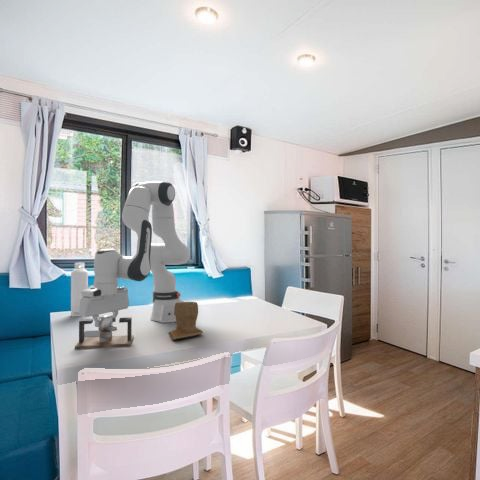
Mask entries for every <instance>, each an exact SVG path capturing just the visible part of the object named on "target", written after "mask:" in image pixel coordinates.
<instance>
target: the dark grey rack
mask: <svg viewBox="0 0 480 480" xmlns="http://www.w3.org/2000/svg"><path fill="white" fill-rule="evenodd" d="M132 318H133V317H131V316H130V317H129V316H128V317H119V320H118V323H127V329H126V330H127V334H125V335H113V331H110V330H108V331H100V335H99V337H84V332H85V325H91V324H92V323H93V322H94V319H93V318H81V319H79V321H78V342H77V344H75V345H74V350H81V349H82V348H85V349H98V348H99V349H100V348H101V349H102V348H116V347H117V348H119V347H131V345H132V343H133V340H134V334H132V329H133V328H132V322H133V321H132ZM80 348H81V349H80ZM82 350H83V349H82Z"/></svg>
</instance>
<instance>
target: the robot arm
mask: <svg viewBox="0 0 480 480" xmlns="http://www.w3.org/2000/svg"><path fill="white" fill-rule="evenodd" d="M126 197H127V198H126V200H125V201H124V206H123V209H122V212H121V214H122V215H121V219H122V222H123V225H125V226H126V227H127V228H128V229H130V230H131V231H134V232H135V233H136V236H137V243H136V253H135V255H134V256H133V255H132V256H130V255H129V256H127V255H123V254H121V253H119V252H118V251H117V249H115V248H111V247H109V248H108V247H107V248H101V249H99V250H97V251H96V252H95V255H94V259H93V273H94V279H93V284H92V285H90V286H88V288H86V289H84V290H82V292H81V295H82V296H83V297H82V298H81V300H80V308H79V313H80V315H81V316H80V317H82V318H88V317H92V319H93V322H94V327H95V326H100V325H101V321H99V316H100V315H102V314H107V313H112V314H111V315H112V316H113V323H116V321H117V317H118V314H119V311H122V310H126V309H128V308H129V306H130V301H129V300H130V299H129V289H128V288H127V287H125V286H120V287H119V286H118V283H119V281H118V279H121V280H122V279H123V280H131V281H134V282H135V281H136V282H143V281H144V280H145V279H146V278H147V277H148V276H149V275H150V273H151V274H152V277H153V278H152V279H153V292H152V303H153V304H152V310H151V315H150V317H149V318H150V320H151V321H153V322H159V323H163V324H164V323H175V322H176V316H175V312H174V307H175V303H176V302H185V301H184V300H182V299H181V298H180V297H181V293H180V292H179V291H177V289H176V287H177V286H176V279H177V278H176V276H175V275H174V273H173V272H171V271H169V270H168V269H167V268H166V265H174V266H177V265H183V264H186V263H187V262H188V261H189V259H190V255H191V252H190V249H189V247H188V246H187V245H186V244H184V243H183V242H182V241H181V239H180V238H179V236H178V234H177V231H176V224H175V222H176V221H175V211H174V204H173V203H174V200H175V198H176V190H175V186H174V185H173V184H172V183H171V182H168V181H159V180H158V181H157V180H155V181H154V180H151V181H144V182H142V181H139V182H134V183H133V184H132V185H131V187H130V190H129V192H128V194H127V196H126ZM151 205H152V206H151ZM150 212H151V222H152V223H151V222H150V220H149V218H150V217H149V216H150ZM153 234H154V235H155V236H157V237H159V238H160V239H161V240H162V241H163V243H157V242H155V243H154V242H153V243H152V237H153V236H152V235H153ZM176 323H177V322H176Z"/></svg>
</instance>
